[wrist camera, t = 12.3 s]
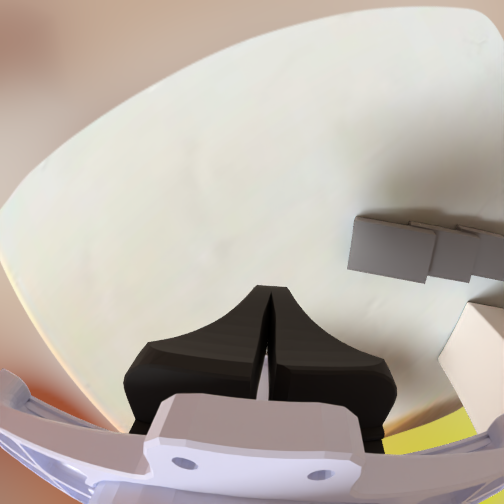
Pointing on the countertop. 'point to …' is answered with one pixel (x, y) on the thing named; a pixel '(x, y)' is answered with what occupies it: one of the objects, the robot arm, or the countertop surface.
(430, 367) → the countertop surface
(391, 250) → the domino
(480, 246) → the domino
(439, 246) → the domino
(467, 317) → the milk carton
